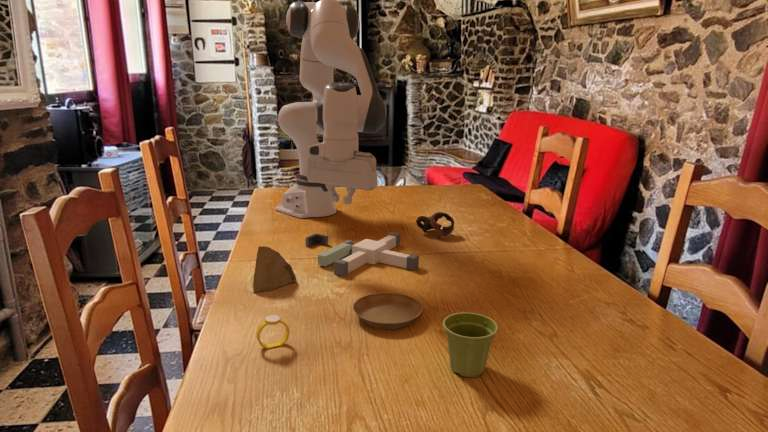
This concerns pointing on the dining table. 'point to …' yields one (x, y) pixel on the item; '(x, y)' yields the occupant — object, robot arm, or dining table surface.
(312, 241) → the leg socket
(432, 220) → the pottery mug
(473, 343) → the plant pot
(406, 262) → the stool base
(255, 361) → the dining table surface
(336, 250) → the hinged leg
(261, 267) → the rock
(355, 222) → the dining table surface
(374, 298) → the plant saucer
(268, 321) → the gold ring
